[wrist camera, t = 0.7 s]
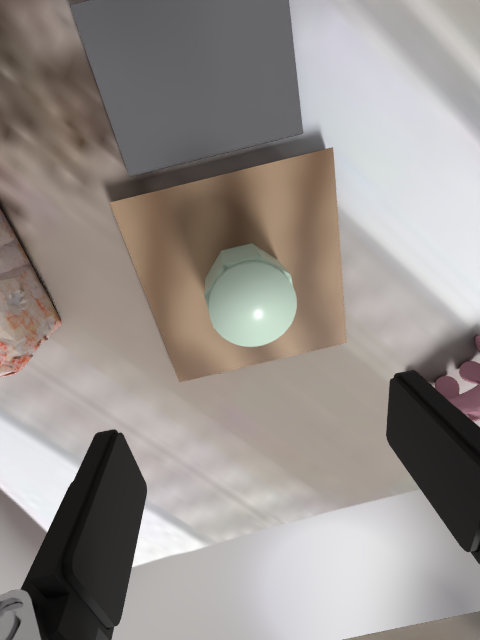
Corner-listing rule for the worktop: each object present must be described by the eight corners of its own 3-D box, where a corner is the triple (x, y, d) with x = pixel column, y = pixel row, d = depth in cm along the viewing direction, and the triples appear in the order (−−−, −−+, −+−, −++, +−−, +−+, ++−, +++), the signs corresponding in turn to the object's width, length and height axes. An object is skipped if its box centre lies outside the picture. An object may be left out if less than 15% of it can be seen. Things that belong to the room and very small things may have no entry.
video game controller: (407, 387, 38) (451, 438, 33) (404, 377, 34) (453, 433, 30) (479, 344, 36) (537, 391, 31) (483, 328, 32) (548, 380, 28)
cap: (274, 237, 25) (291, 252, 19) (285, 306, 28) (303, 336, 22) (199, 255, 25) (195, 275, 19) (218, 322, 28) (219, 356, 22)
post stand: (326, 149, 24) (356, 139, 19) (341, 336, 32) (365, 364, 27) (115, 201, 24) (90, 205, 19) (180, 373, 32) (175, 408, 27)
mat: (280, -42, 19) (283, -51, 18) (300, 134, 23) (303, 132, 22) (75, 12, 19) (69, 5, 18) (131, 176, 23) (129, 175, 23)
